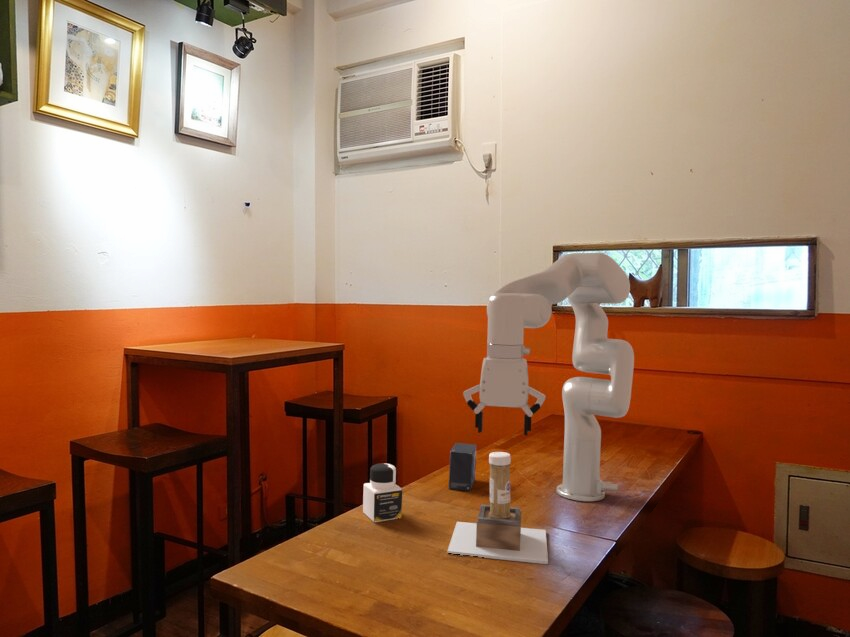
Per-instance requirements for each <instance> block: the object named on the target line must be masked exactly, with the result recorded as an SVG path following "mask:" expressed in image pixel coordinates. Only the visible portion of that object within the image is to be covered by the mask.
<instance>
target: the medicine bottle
mask: <svg viewBox="0 0 850 637" xmlns="http://www.w3.org/2000/svg"><path fill="white" fill-rule="evenodd" d="M369 471H370V472H369V482H365V483H363V491H362V492H363V495H362V512H363V513H364V515H366V517H368V518H369V519H370V520H371V521H372V523H379V522H385V521H391V520H397V519H398V518H399V519H401V518H402V515H403V512H402V510H403V488H402V487H400V486H399V485H397V484H396V482H397V480H396V477H397V476H396V475H397V468H396V467H395V465H393V464H391V463H381V462H380V463H376V464H374V465H372V466H371V467H370V470H369Z"/></svg>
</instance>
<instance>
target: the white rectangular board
mask: <svg viewBox="0 0 850 637" xmlns="http://www.w3.org/2000/svg"><path fill="white" fill-rule="evenodd" d="M476 529H477V522H466V521H465V522H464V521H456V524H455V526H454V530H453V533H452V536H451V538H450V542H449V544H448V547H447V548H448V549H447V551H446V554H447V553H453V554H460V555H459V556H463V555H470V556H469V557H473V556H478V557H477V558H482V557H484V559H493V560H502V561H514V562H521V563H522V562H523V563H530V564H531V563H532V564H541V565H548V564H549V558H548V557H549V556H548V546H547V544H548V542H547V531H546V530H547V529H542V528H541V529H540V528H528V527H521V536H520V551H515V550H505V549H495V548H485V547H476ZM453 554H452V555H453Z"/></svg>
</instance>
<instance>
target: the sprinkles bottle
mask: <svg viewBox="0 0 850 637" xmlns="http://www.w3.org/2000/svg"><path fill="white" fill-rule="evenodd" d="M511 461H512V460H511V454H510V453H509V452H504V451H493V452H490V453H489V455H488V463H489V503H490V504H489V505H490V516H491V517H492V518H496V519H507V518H509V517H510V516H511V514H510V507H511V470H510V469H511V463H512V462H511Z"/></svg>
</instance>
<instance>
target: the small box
mask: <svg viewBox="0 0 850 637" xmlns="http://www.w3.org/2000/svg"><path fill="white" fill-rule="evenodd" d="M476 465H477V444H471V443H462V442H455V444H454V445H453V447H452V448H451V450H450V451H449V475H448V476H449V477H448V488H447V489H448V490H459V491H465V492H466V491H471V490H472V488H473V485H474V483H475V481H476V471H477V470H476V467H477V466H476Z"/></svg>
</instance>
